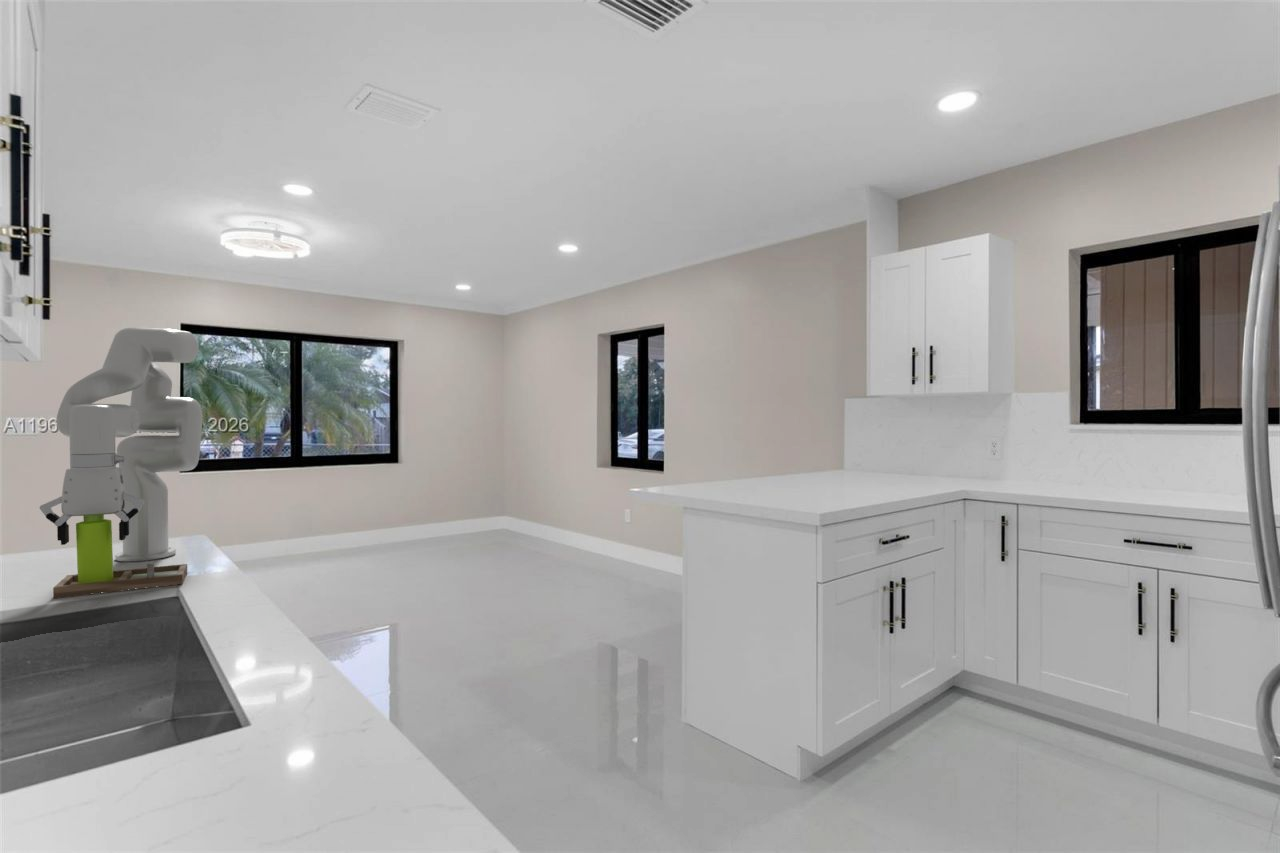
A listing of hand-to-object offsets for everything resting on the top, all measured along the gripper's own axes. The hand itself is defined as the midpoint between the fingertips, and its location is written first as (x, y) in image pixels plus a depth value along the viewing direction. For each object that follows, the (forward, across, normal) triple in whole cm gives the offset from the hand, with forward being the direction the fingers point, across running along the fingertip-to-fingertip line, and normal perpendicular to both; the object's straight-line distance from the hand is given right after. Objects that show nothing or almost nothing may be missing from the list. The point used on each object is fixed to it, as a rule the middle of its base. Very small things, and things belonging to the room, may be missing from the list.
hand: (94, 541), depth 140 cm
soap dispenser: (+9, 0, -1) cm, 9 cm away
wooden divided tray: (+10, -5, 0) cm, 11 cm away
